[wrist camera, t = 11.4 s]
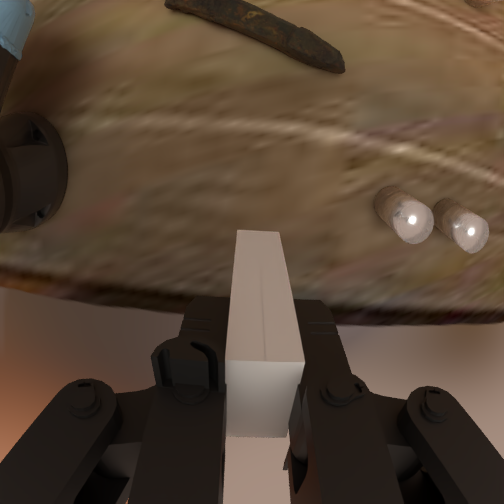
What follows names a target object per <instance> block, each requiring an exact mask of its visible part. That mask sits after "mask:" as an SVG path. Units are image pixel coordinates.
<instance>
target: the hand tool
mask: <svg viewBox="0 0 504 504" xmlns="http://www.w3.org/2000/svg"><path fill="white" fill-rule="evenodd" d="M164 5H165V6H166V8H168V9H173V10H174V9H180V10H181V11H183V12H184V13H188V12H190V13H193V14H195V15H197V16H200V17H201V18H204V19H208V20H210V21H212V22H214V21H215V22H216V23H220V24H222V25H224V26H226V27H229V28H231V29H234V30H237V31H239V32H241V33H244V34H246V35H248V36H251V37H253V38H255V39H257V40H259V41H261V42H264V43H266V44H268V45H270V46H272V47H274V48H276V49H278V50H280V51H282V52H284V53H285V54H287V55H288V56H290V57H292V58H294V59H296V60H299V61H301V62H303V63H305V64H309V65H312V66H315V67H318V68H321V69H324V70H327V71H331V72H334V73H339V74H341V73H344V72H345V62H344V60H343V58H342V55H341V54H340V51H338V50H337V49H336V48H334V47H333V46H331V45H330V44H329V43H327V42H326V41H324V40H322V39H321V38H319V37H318V36H317V35H315V34H314V33H313V32H311V31H310V30H308V29H306V28H303V27H300V28H299V27H297V26H295V25H294V24H291V23H289V22H287V21H285V20H283V19H281V18H278V17H276V16H275V15H273V14H271V13H269V12H267V11H265V10H263V9H261V8H259V7H257V6H255V5H252V4H250V3H248V2H245V1H243V0H166V1H165V4H164Z"/></svg>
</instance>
